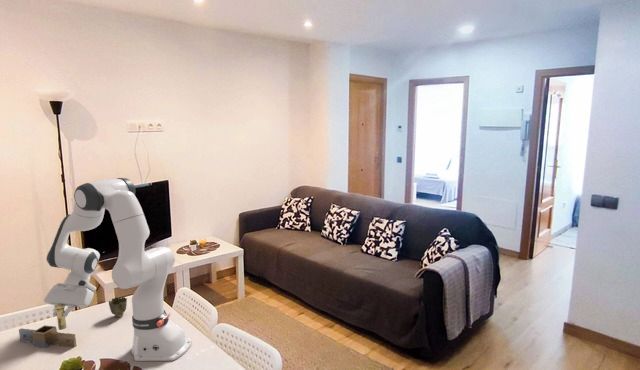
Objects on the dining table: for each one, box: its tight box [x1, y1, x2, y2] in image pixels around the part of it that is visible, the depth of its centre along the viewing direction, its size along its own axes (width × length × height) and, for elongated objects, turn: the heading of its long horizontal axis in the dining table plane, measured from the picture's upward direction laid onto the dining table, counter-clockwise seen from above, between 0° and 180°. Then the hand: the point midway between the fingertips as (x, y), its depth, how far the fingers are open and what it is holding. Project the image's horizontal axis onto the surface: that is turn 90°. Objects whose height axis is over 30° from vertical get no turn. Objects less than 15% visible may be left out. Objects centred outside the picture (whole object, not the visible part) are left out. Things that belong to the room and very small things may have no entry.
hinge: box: [18, 324, 77, 349], centre depth 155 cm, size 26×6×6 cm, turn 80°
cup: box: [108, 296, 128, 319], centre depth 177 cm, size 8×7×8 cm
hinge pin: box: [54, 304, 67, 331], centre depth 162 cm, size 4×4×10 cm
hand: (59, 315), depth 161 cm, fingers closed on hinge pin, 3 cm apart
